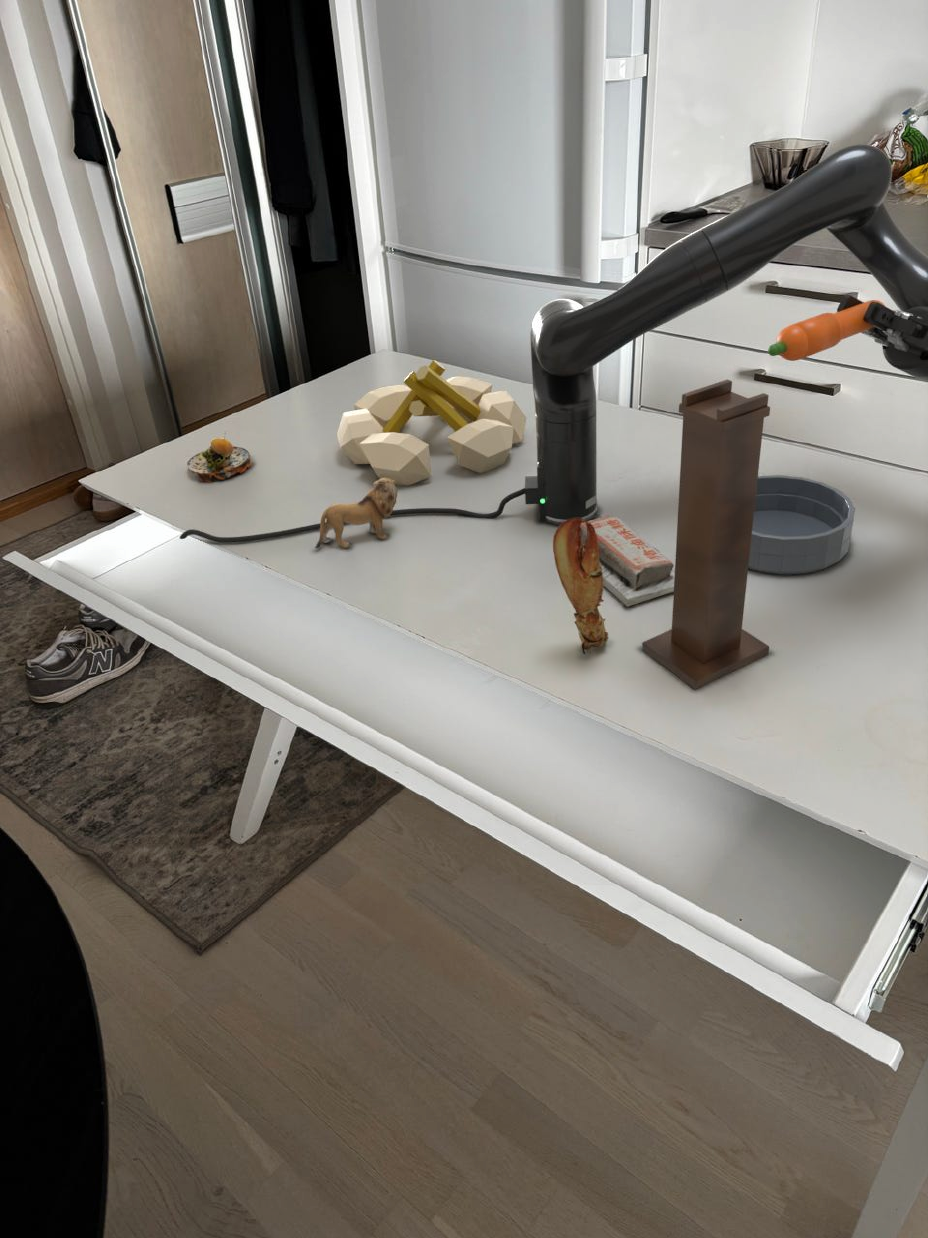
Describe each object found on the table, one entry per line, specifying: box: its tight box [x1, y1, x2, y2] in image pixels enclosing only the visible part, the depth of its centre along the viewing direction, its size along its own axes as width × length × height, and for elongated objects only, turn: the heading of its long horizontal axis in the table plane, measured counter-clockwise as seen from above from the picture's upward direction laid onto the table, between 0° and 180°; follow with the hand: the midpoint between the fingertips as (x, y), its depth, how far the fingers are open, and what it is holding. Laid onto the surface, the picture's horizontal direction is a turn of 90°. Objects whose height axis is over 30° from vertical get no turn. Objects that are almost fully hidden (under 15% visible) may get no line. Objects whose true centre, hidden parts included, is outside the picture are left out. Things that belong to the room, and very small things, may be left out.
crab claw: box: [552, 517, 609, 655], centre depth 117 cm, size 7×5×20 cm
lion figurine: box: [314, 478, 398, 549], centre depth 149 cm, size 15×5×9 cm, turn 116°
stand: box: [641, 379, 771, 690], centre depth 110 cm, size 12×10×34 cm
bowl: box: [748, 474, 856, 575], centre depth 139 cm, size 20×20×6 cm
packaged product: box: [580, 515, 675, 608], centre depth 136 cm, size 18×5×10 cm
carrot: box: [767, 299, 886, 362], centre depth 104 cm, size 18×4×4 cm, turn 122°
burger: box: [187, 430, 253, 483], centre depth 176 cm, size 12×12×8 cm
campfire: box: [336, 359, 527, 487], centre depth 174 cm, size 35×34×17 cm
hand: (856, 307), depth 105 cm, fingers closed on carrot, 3 cm apart
